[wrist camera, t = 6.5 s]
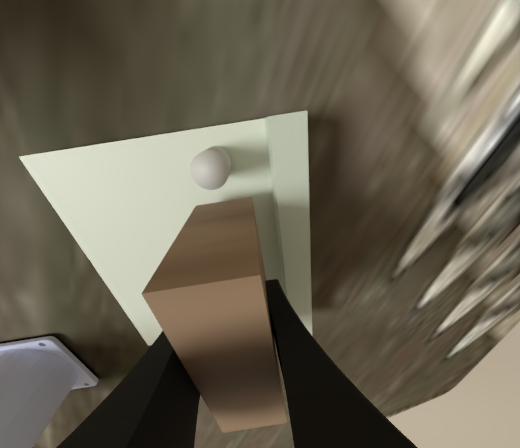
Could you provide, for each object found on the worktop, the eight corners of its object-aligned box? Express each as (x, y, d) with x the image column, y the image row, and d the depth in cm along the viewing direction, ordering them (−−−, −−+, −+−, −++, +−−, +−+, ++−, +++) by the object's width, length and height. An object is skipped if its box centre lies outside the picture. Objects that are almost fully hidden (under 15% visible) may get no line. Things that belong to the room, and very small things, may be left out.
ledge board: (153, 332, 18) (133, 379, 15) (41, 153, 11) (-49, 165, 7) (301, 309, 18) (314, 350, 15) (290, 114, 11) (311, 109, 7)
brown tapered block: (271, 311, 14) (287, 422, 9) (229, 318, 14) (219, 433, 9) (252, 196, 10) (260, 275, 5) (193, 206, 10) (135, 294, 5)
